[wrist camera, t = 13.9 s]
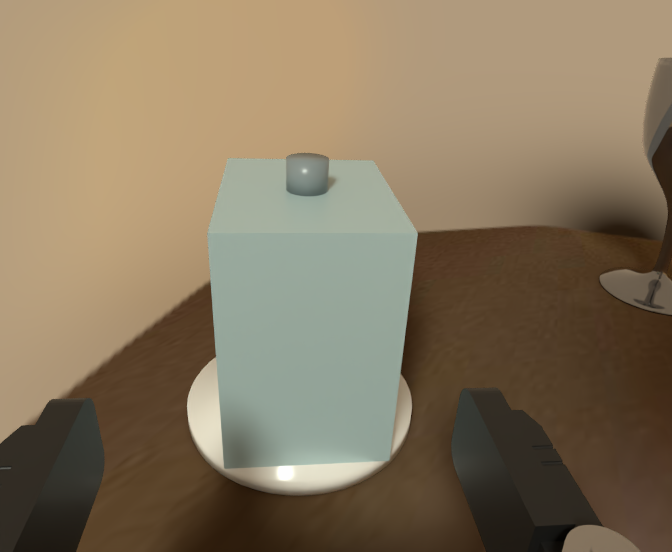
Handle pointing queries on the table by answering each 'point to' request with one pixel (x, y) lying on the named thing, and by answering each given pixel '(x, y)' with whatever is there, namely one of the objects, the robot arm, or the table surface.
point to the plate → (282, 478)
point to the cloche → (308, 310)
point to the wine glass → (668, 167)
